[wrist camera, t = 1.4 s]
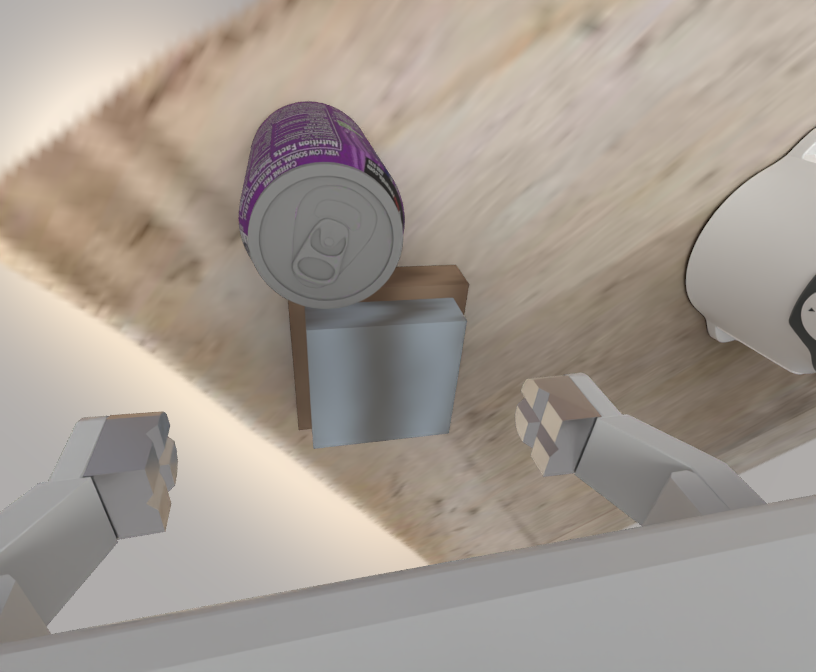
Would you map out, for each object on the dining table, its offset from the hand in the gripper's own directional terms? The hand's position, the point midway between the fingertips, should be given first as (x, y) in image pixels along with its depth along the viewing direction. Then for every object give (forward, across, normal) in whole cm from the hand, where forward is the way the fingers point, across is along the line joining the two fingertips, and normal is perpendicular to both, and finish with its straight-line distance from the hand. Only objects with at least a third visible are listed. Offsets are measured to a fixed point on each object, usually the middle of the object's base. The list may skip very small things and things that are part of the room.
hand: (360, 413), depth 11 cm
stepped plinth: (+22, -5, +13) cm, 26 cm away
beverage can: (+22, 0, 0) cm, 22 cm away
